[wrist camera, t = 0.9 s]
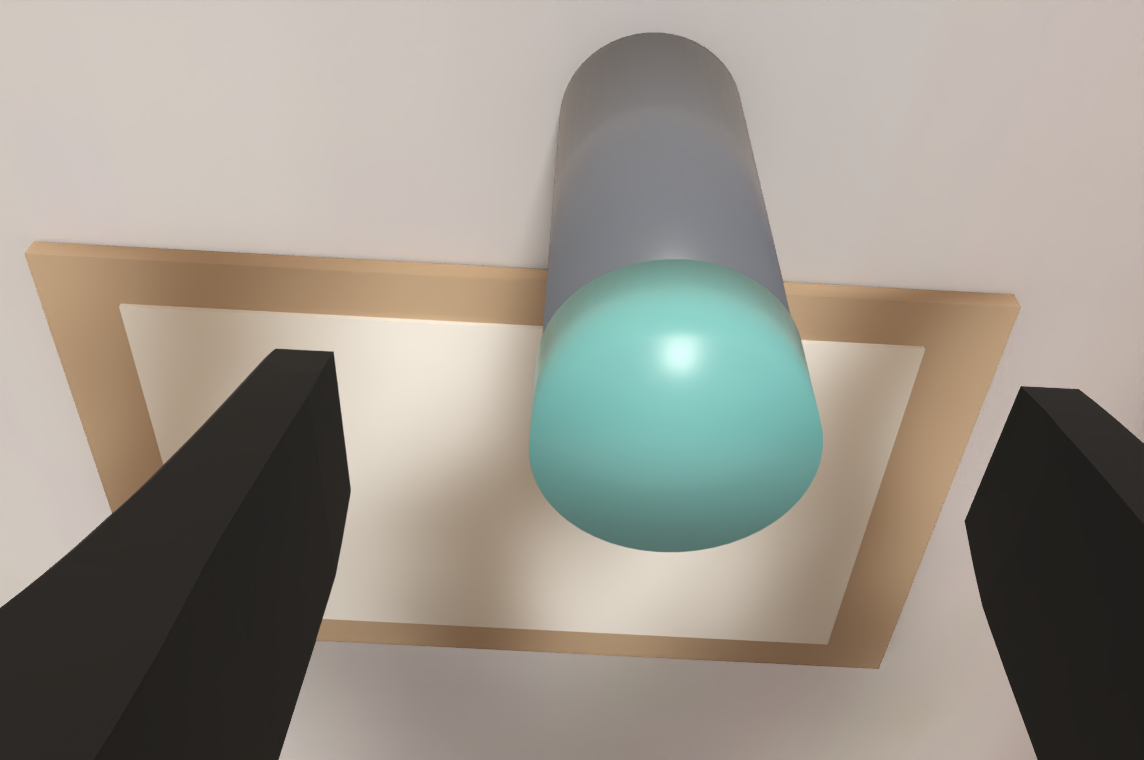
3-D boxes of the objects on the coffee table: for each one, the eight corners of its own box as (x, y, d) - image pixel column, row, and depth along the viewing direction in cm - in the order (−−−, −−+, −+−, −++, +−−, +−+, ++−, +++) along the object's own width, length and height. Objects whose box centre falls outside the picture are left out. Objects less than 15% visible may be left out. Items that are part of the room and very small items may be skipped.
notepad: (1014, 294, 19) (1022, 310, 19) (875, 655, 26) (879, 672, 26) (33, 241, 19) (22, 256, 19) (157, 618, 26) (151, 635, 26)
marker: (758, 34, 16) (852, 345, 10) (730, 208, 18) (793, 559, 12) (560, 24, 16) (532, 329, 10) (553, 199, 18) (526, 545, 12)
